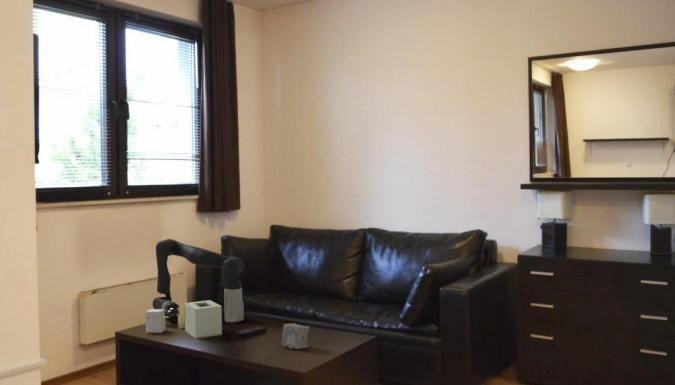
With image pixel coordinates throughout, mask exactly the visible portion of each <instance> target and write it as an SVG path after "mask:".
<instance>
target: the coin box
mask: <svg viewBox="0 0 675 385" xmlns="http://www.w3.org/2000/svg"><path fill="white" fill-rule="evenodd" d="M184 308H185V328H184V332H186V333H187V334H189V336H191V337H192V338H194V339H196V340H197V339H203V338H209V337H216V336H222V334H223V327H222V326H223V322H222V320H223V319H222V316H223V315H222V313H223V312H222V305H221V304H218V303H216V302H214V301H212V300H210V299H209V300H200V301H192V302H191V301H190V302H185V303H184Z"/></svg>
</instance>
